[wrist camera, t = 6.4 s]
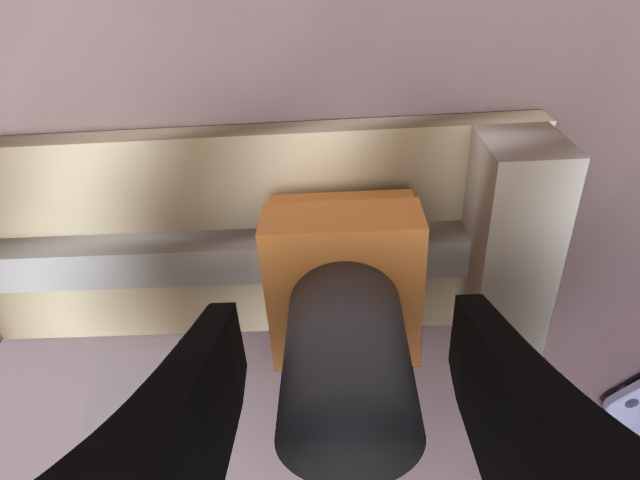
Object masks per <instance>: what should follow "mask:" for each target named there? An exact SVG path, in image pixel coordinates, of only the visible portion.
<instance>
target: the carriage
mask: <svg viewBox="0 0 640 480" xmlns="http://www.w3.org/2000/svg"><path fill="white" fill-rule="evenodd" d="M255 237H256V244H257V251H258V258H259V265H260V272H261V279H262V286H263V293H264V299H265V306H266V313H267V320H268V327H269V334H270V341H271V348H272V355H273V362H274V369H275V371H282V375H281V384H280V394H279V403H278V412H277V421H276V431H275V449H276V453H277V455H278V457H279V459H280V460H281V462H282V463H283V464H284V465H285V466H286V467H287V468H288V469H289V470H290V471H291V472H292V473H294V474H295V475H297V476H299V477H300V478H302V479H304V480H395V479H397V478H399V477H401V476H403V475H404V474H406V473H407V472H409V471H410V470H411V469H412V468H413V467H414V466H415V465H416V464H417V463H418V462H419V460H420V458H421V457H422V455H423V453H424V450H425V446H426V435H425V430H424V425H423V419H422V414H421V409H420V403H419V398H418V393H417V387H416V382H415V377H414V372H413V367H420V358H421V343H422V329H423V314H424V299H425V284H426V270H427V255H428V240H429V227H428V224H427V221H426V218H425V214H424V211H423V208H422V205H421V202H420V199H419V197H414V194H413V191H412V189H393V190H370V191H346V192H323V193H300V194H276V195H269V198H268V203H265V204H263V206H262V210H261V214H260V218H259V223H258V227H257V231H256V235H255Z"/></svg>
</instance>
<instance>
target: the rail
mask: <svg viewBox="0 0 640 480" xmlns="http://www.w3.org/2000/svg"><path fill="white" fill-rule="evenodd" d="M555 125H556V120H554V119H553V118H552V117H551V116H550V115H549V114H547V113H546V112H545V111H544V110H543V109H542V110H522V111H501V112H481V113H461V114H440V115H420V116H399V117H379V118H358V119H338V120H317V121H297V122H277V123H256V124H236V125H215V126H195V127H174V128H154V129H133V130H113V131H92V132H72V133H52V134H31V135H11V136H0V343H1V342H2V340H3V339H28V338H60V337H92V336H124V335H157V334H186V332H187V331H188V330H189V328H190V327H191V326H192V325H193V323H194V322H195V321H196V319H197V318H198V317H199V316H200V314H201V313H202V312H203V310H204V309H205V308H206V307H207V306H208V305H209V304H210V303H225V302H236V308H237V313H238V319H239V324H240V330H241V332H253V331H269V327H268V320H267V313H266V306H265V299H264V293H263V286H262V279H261V272H260V265H259V258H258V251H257V244H256V237H255V235H256V231H257V227H258V223H259V218H260V214H261V210H262V206H263V204H265V203H268V198H269V195H276V194H300V193H323V192H346V191H370V190H393V189H412V191H413V194H414V197H419V199H420V202H421V205H422V208H423V211H424V214H425V218H426V221H427V224H428V227H429V240H428V255H427V270H426V284H425V299H424V314H423V326H447V325H451V328H452V322H453V313H454V303H455V295H463V294H483V295H484V296H485V297H486V298H487V299H488V300H489V301H490V302H491V303H492V305H493V306H494V307H495V308H496V309H497V310H498V311H499V312H500V313H501V314H502V315H503V316H504V318H505V319H506V320H507V321H508V322H509V323H510V324H511V325H512V326H513V327H514V328H515V329H516V330H517V331H518V332H519V333H520V334H521V335H522V337H523V338H524V339H525V340H526V341H527V342H528V343H529V344H530V345H531V346H532V347H533V348H534V349H535V350H537V351H538V352H539V353H540V354H541V355H543V351H544V347H545V343H546V339H547V335H548V331H549V326H550V322H551V318H552V314H553V310H554V306H555V302H556V297H557V293H558V289H559V285H560V281H561V277H562V273H563V269H564V264H565V260H566V256H567V252H568V248H569V244H570V240H571V236H572V231H573V227H574V223H575V219H576V215H577V211H578V207H579V203H580V198H581V194H582V190H583V186H584V182H585V178H586V174H587V169H588V165H589V161H590V158H589V157H588V156H587V155H586V154H585V153H584V152H582V151H581V150H580V149H579V148H578V147H577V146H576V145H575V144H573V143H572V142H571V141H570V140H569V139H568V138H567V137H566V136H564V135H563V134H562V133H561V132H560V131H559V130H558V129H556V128H555Z"/></svg>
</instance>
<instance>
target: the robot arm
mask: <svg viewBox="0 0 640 480" xmlns="http://www.w3.org/2000/svg"><path fill="white" fill-rule="evenodd" d="M449 365H450V370H451V376H452V381H453V386H454V391H455V396H456V400H457V403H458V407H459V410H460V413H461V416H462V419H463V422H464V425H465V429H466V432H467V435H468V438H469V441H470V444H471V447H472V450H473V453H474V456H475V459H476V462H477V465H478V468H479V472H480V475H481V478H482V480H640V379H639V380H637V381H635V382H634V383H632V384H630V385H628V386H626V387H625V388H623V389H621V390H619V391H617V392H616V393H614V394H612V395H610V396H609V397H607V398H606V399H605V400H604V402H603V407H604V409H605V410H604V409H603V408H601V407H600V406H599V405H597V404H596V403H595V402H593V401H592V400H591V399H590V398H589V397H587V396H586V395H585V394H584V393H582V392H581V391H580V390H579V389H578V388H576V387H575V386H574V385H573V384H572V383H571V382H570V381H569V380H567V379H566V378H565V377H564V376H563V375H562V374H561V373H560V372H558V371H557V370H556V369H555V368H554V367H553V366H552V365H551V364H550V363H549V362H548V361H547V360H546V359H545V358H544V357H543V356H542V355H541V354H540V353H539V352H538V351H537V350H535V349H534V348H533V347H532V346H531V345H530V344H529V343H528V342H527V341H526V340H525V339H524V338H523V337H522V335H521V334H520V333H519V332H518V331H517V330H516V329H515V328H514V327H513V326H512V325H511V324H510V323H509V322H508V321H507V320H506V319H505V318H504V316H503V315H502V314H501V313H500V312H499V311H498V310H497V309H496V308H495V307H494V306H493V305H492V303H491V302H490V301H489V300H488V299H487V298H486V297H485V296H484V295H483V294H463V295H455V303H454V313H453V322H452V331H451V340H450V350H449ZM246 369H247V362H246V357H245V351H244V346H243V340H242V335H241V330H240V324H239V319H238V313H237V308H236V302H225V303H210V304H209V305H208V306H207V307H206V308H205V309H204V310H203V312H202V313H201V314H200V316H199V317H198V318H197V319H196V321H195V322H194V323H193V325H192V326H191V327H190V328H189V330H188V331H187V332H186V334H185V335H184V336H183V337H182V339H181V340H180V341H179V342H178V344H177V345H176V346H175V347H174V348H173V350H172V351H171V352H170V353H169V354H168V355H167V357H166V358H165V359H164V360H163V361H162V363H161V364H160V365H159V366H158V367H157V368H156V370H155V371H154V372H153V373H152V374H151V375H150V376H149V377H148V378H147V379H146V381H145V382H144V383H143V384H142V385H141V386H140V387H139V388H138V389H137V390H136V391H135V392H134V393H133V395H132V396H131V397H130V398H129V399H128V400H127V401H126V402H125V403H124V404H123V405H122V406H121V407H120V408H119V409H118V410H117V411H116V412H115V413H114V414H112V415H111V416H110V417H109V418H108V419H107V420H106V421H105V422H104V423H103V424H102V425H101V426H100V427H98V428H97V429H96V430H95V431H94V432H93V433H92V434H91V435H90V436H88V437H87V438H86V439H85V440H84V441H82V442H81V443H80V444H79V445H77V446H76V447H75V448H74V449H72V450H71V451H70V452H69V453H68V454H66V455H65V456H64V457H63V458H61V459H60V460H59V461H58V462H56V463H55V464H54V465H53V466H51V467H50V468H49V469H48V470H46V471H45V472H44V473H42V474H41V475H40V476H38V477H37V478H36V479H34V480H225V477H226V473H227V469H228V465H229V460H230V456H231V452H232V448H233V444H234V439H235V435H236V431H237V427H238V422H239V418H240V414H241V409H242V405H243V397H244V389H245V379H246Z"/></svg>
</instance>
